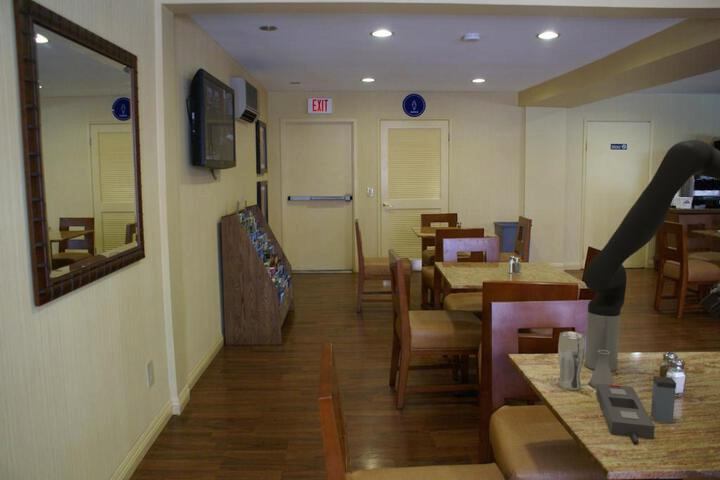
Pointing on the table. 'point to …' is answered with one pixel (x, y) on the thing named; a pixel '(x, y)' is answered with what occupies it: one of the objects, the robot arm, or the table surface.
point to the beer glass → (570, 359)
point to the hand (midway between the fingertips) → (706, 310)
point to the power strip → (624, 411)
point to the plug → (663, 399)
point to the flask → (602, 370)
